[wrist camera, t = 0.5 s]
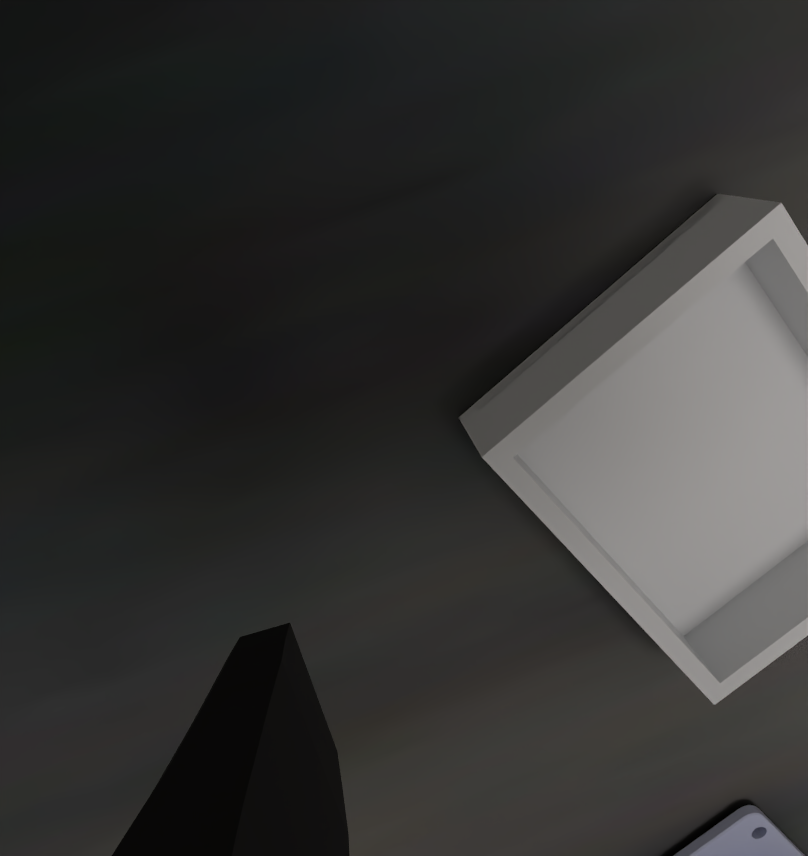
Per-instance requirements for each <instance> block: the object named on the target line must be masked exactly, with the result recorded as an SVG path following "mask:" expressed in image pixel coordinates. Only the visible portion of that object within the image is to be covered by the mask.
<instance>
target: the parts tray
mask: <svg viewBox="0 0 808 856" xmlns="http://www.w3.org/2000/svg"><path fill="white" fill-rule="evenodd" d="M459 420H460V421H461V423H462V425H463V426H464V428H465V430H466V431H467V433H468V435H469V436H470V438H471V440H472V442H473V443H474V445H475V447H476V448H477V450H478V452H479V453H480V455H481V457H482V458H483V459H484V460H485V461H486V462H487V463H488V464H489V465H490V467H491V468H492V469H493V470H494V471H495V472H496V473H497V474H498V475H499V476H500V477H501V478H502V479H503V480H504V481H505V483H506V484H507V485H508V486H509V487H510V488H511V489H512V490H513V491H514V492H515V493H516V494H517V495H518V496H519V497H520V498H521V500H522V501H523V502H524V503H525V504H526V505H527V506H528V507H529V508H530V509H531V510H532V511H533V512H534V513H535V514H536V516H537V517H538V518H539V519H540V520H541V521H542V522H543V523H544V524H545V525H546V526H547V527H548V528H549V529H550V530H551V532H552V533H553V534H554V535H555V536H556V537H557V538H558V539H559V540H560V541H561V542H562V543H563V544H564V545H565V546H566V547H567V549H568V550H569V551H570V552H571V553H572V554H573V555H574V556H575V557H576V558H577V559H578V560H579V561H580V562H581V563H582V565H583V566H584V567H585V568H586V569H587V570H588V571H589V572H590V573H591V574H592V575H593V576H594V577H595V578H596V579H597V581H598V582H599V583H600V584H601V585H602V586H603V587H604V588H605V589H606V590H607V591H608V592H609V593H610V594H611V595H612V596H613V598H614V599H615V600H616V601H617V602H618V603H619V604H620V605H621V606H622V607H623V608H624V609H625V610H626V611H627V612H628V614H629V615H630V616H631V617H632V618H633V619H634V620H635V621H636V622H637V623H638V624H639V625H640V626H641V627H642V628H643V629H644V631H645V632H646V633H647V634H648V635H649V636H650V637H651V638H652V639H653V640H654V641H655V642H656V643H657V644H658V645H659V647H660V648H661V649H662V650H663V651H664V652H665V653H666V654H667V655H668V656H669V657H670V658H671V659H672V660H673V661H674V663H675V664H676V665H677V666H678V667H679V668H680V669H681V670H682V671H683V672H684V673H685V674H686V675H687V676H688V677H689V678H690V680H691V681H692V682H693V683H694V684H695V685H696V686H697V687H698V688H699V689H700V690H701V691H702V692H703V693H704V694H705V696H706V697H707V698H708V699H709V700H710V701H711V702H712V703H713V704H714V705H715V704H717V703H718V702H719V701H721V700H722V699H723V698H725V697H726V696H727V695H729V694H730V693H731V692H733V691H734V690H735V689H737V688H738V687H739V686H741V685H742V684H743V683H745V682H746V681H747V680H749V679H750V678H751V677H753V676H754V675H755V674H757V673H758V672H759V671H761V670H762V669H763V668H765V667H766V666H767V665H769V664H770V663H771V662H773V661H774V660H775V659H777V658H778V657H779V656H781V655H782V654H783V653H785V652H786V651H788V650H789V649H790V648H792V647H793V646H794V645H796V644H797V643H798V642H800V641H801V640H802V639H804V638H805V637H806V636H808V245H807V244H806V242H805V241H804V239H803V237H802V236H801V234H800V232H799V231H798V229H797V227H796V226H795V224H794V223H793V221H792V219H791V218H790V216H789V214H788V213H787V211H786V210H785V208H784V206H783V205H782V203H780V202H773V201H766V200H759V199H752V198H745V197H738V196H731V195H724V194H717V195H715V196H714V197H713V198H712V199H711V200H710V201H708V202H707V203H706V204H705V205H704V206H703V207H701V208H700V209H699V210H698V211H697V212H696V213H695V214H693V215H692V216H691V217H690V218H689V219H688V220H686V221H685V222H684V223H683V224H682V225H681V226H680V227H678V228H677V229H676V230H675V231H674V232H673V233H671V234H670V235H669V236H668V237H667V238H666V239H664V240H663V241H662V242H661V243H660V244H659V245H658V246H656V247H655V248H654V249H653V250H652V251H651V252H649V253H648V254H647V255H646V256H645V257H644V258H642V259H641V260H640V261H639V262H638V263H637V264H636V265H634V266H633V267H632V268H631V269H630V270H629V271H627V272H626V273H625V274H624V275H623V276H622V277H621V278H619V279H618V280H617V281H616V282H615V283H614V284H612V285H611V286H610V287H609V288H608V289H607V290H605V291H604V292H603V293H602V294H601V295H600V296H599V297H597V298H596V299H595V300H594V301H593V302H592V303H590V304H589V305H588V306H587V307H586V308H585V309H583V310H582V311H581V312H580V313H579V314H578V315H577V316H575V317H574V318H573V319H572V320H571V321H570V322H568V323H567V324H566V325H565V326H564V327H563V328H561V329H560V330H559V331H558V332H557V333H556V334H555V335H553V336H552V337H551V338H550V339H549V340H548V341H546V342H545V343H544V344H543V345H542V346H541V347H540V348H538V349H537V350H536V351H535V352H534V353H533V354H531V355H530V356H529V357H528V358H527V359H526V360H524V361H523V362H522V363H521V364H520V365H519V366H518V367H516V368H515V369H514V370H513V371H512V372H511V373H509V374H508V375H507V376H506V377H505V378H504V379H502V380H501V381H500V382H499V383H498V384H497V385H496V386H494V387H493V388H492V389H491V390H490V391H489V392H487V393H486V394H485V395H484V396H483V397H482V398H481V399H479V400H478V401H477V402H476V403H475V404H474V405H472V406H471V407H470V408H469V409H468V410H467V411H465V412H464V413H463V414H462V415H461V416H460V417H459Z"/></svg>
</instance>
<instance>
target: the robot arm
mask: <svg viewBox="0 0 808 856" xmlns="http://www.w3.org/2000/svg"><path fill="white" fill-rule="evenodd" d="M112 856H349V838H348V828H347V820H346V812H345V804H344V796H343V789H342V782H341V775H340V768H339V761H338V754H337V750H336V747H335V744H334V741H333V739H332V736H331V733H330V731H329V728H328V725H327V722H326V720H325V717H324V714H323V712H322V709H321V706H320V703H319V701H318V698H317V695H316V692H315V690H314V687H313V684H312V682H311V679H310V676H309V673H308V671H307V668H306V665H305V663H304V660H303V657H302V654H301V652H300V649H299V646H298V643H297V641H296V638H295V635H294V633H293V630H292V627H291V624H290V623H287V624H284V625H280V626H277V627H273V628H270V629H267V630H263V631H260V632H256V633H253V634H249V635H246V636H242V637H240V638H239V640H238V641H237V643H236V645H235V646H234V648H233V650H232V652H231V653H230V655H229V657H228V659H227V660H226V662H225V664H224V666H223V668H222V670H221V671H220V673H219V675H218V677H217V679H216V681H215V683H214V684H213V686H212V688H211V690H210V692H209V694H208V696H207V697H206V699H205V701H204V703H203V705H202V707H201V708H200V710H199V712H198V714H197V716H196V717H195V719H194V721H193V723H192V725H191V727H190V728H189V730H188V732H187V734H186V735H185V737H184V739H183V741H182V742H181V744H180V746H179V747H178V749H177V751H176V753H175V754H174V756H173V758H172V760H171V761H170V763H169V765H168V766H167V768H166V770H165V772H164V773H163V775H162V777H161V779H160V780H159V782H158V784H157V785H156V787H155V789H154V790H153V792H152V794H151V795H150V797H149V799H148V800H147V802H146V803H145V805H144V806H143V808H142V810H141V811H140V813H139V814H138V816H137V817H136V819H135V820H134V822H133V824H132V825H131V827H130V828H129V830H128V831H127V833H126V834H125V836H124V838H123V839H122V841H121V842H120V844H119V845H118V847H117V848H116V850H115V852H114V853H113V855H112ZM673 856H805V855H804V854H803V853H802V852H801V851H800V850H799V849H798V848H797V847H796V846H795V845H794V844H793V843H792V842H791V841H790V840H789V839H788V838H787V837H786V836H785V835H784V834H783V833H782V832H781V830H780V829H779V828H778V827H777V826H776V825H775V824H774V823H773V822H772V821H771V820H770V819H769V818H768V817H767V816H766V815H765V814H764V813H763V812H762V811H761V810H760V809H759V808H757V807H756V806H752V805H746V806H743V807H741V808H739V809H737V810H736V811H735V812H733V813H732V814H730V815H729V816H728V817H726V818H725V819H723V820H722V821H721V822H719V823H718V824H716V825H715V826H714V827H712V828H711V829H709V830H708V831H707V832H705V833H704V834H703V835H701V836H700V837H698V838H697V839H696V840H694V841H693V842H691V843H690V844H689V845H687V846H686V847H684V848H683V849H682V850H680V851H679V852H678V853H676V854H675V855H673Z"/></svg>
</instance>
